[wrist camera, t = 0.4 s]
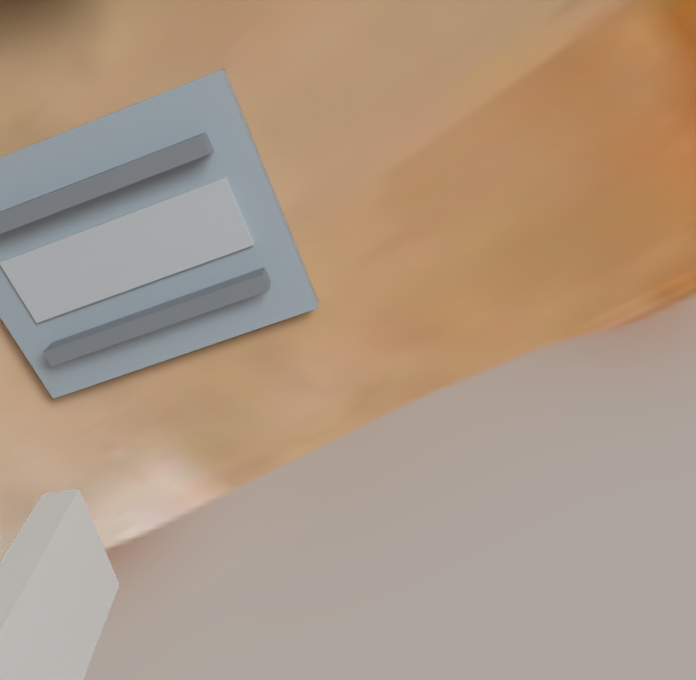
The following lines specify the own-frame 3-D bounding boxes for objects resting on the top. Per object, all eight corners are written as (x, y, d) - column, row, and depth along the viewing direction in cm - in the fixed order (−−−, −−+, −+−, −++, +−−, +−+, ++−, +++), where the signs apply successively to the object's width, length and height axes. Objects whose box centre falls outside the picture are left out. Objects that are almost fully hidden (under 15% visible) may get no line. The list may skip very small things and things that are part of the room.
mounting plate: (-70, 186, 35) (-99, 195, 33) (224, 69, 33) (216, 70, 31) (60, 389, 41) (44, 410, 38) (318, 300, 39) (317, 317, 36)
